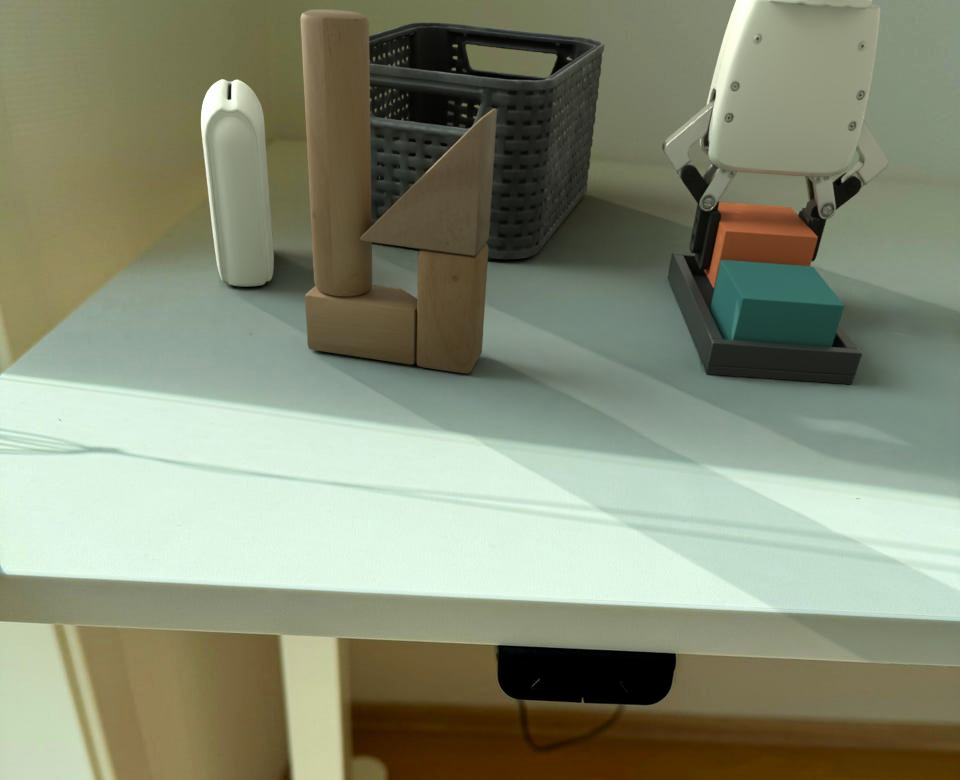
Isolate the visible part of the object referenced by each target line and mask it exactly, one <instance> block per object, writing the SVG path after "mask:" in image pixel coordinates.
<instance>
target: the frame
mask: <svg viewBox="0 0 960 780" xmlns="http://www.w3.org/2000/svg"><path fill="white" fill-rule="evenodd" d="M669 261H670V262H669V266H668V273H667V277H666V278H667V280H668V283H669V285H670V288H671V291H672V293H673V295H674V297H675V300H676V302H677V303H676V304H677V305H678V308H679V310H680V312H681V315H682V318H683V320H684V322H685V325H686V327H687V330H688V333H689V335H690V337H691V340H692V342H693V344H694V347H695V350H696V352H697V355H698V356H699V359H700V361H701V364H702V367H703V370H704V371H705V374H706V375H714V376H715V375H716V376H728V377H743V378H744V377H746V378H758V379H759V378H760V379H772V380H787V381H800V382H801V381H802V382H813V383H814V382H816V383H828V384H829V383H830V384H840V385H841V384H845V385H853V383H854V380H855V376H856V373H857V371H858V368H859V365H860V362H861V358H862V356H863V353H862V351H861V350H860V349H859V347H857V345H856V344H855V342H854V341H853V340H852V338H851V337H850V336H849V335H848V333H847V331H845V329H844V328H843V326H842V325H841V324H840V323H839V325H838V328H837V331H836V335H835V338H834V341H833V344H832V347H824V346H810V345H795V344H781V343H767V342H753V341H739V340H725V339H723V338H722V336H721V334H720V332H719V330H718V328H717V326H716V324H715V321H714V319H713V317H712V315H711V313H710V308H711V303H712V299H713V294H714V289H713V287H712V285H711V283H710V281H709V279H708V277H707V275H706V273H705V271H704V269H700V268H699V266H698V264H697V262H696V260H695V254H694V253H691V252H685V251H684V252H683V251H672V252H671V256H670V260H669Z"/></svg>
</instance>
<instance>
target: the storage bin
mask: <svg viewBox="0 0 960 780" xmlns="http://www.w3.org/2000/svg"><path fill="white" fill-rule="evenodd" d="M454 45H456V46H454ZM466 45H470V46H478V47H488V48H496V49H501V50H502V49H504V50H514V51H522V52H532V53H542V54H547V55H548V54H549V55H551V54H552V55H556V59H555V61H554V64H553V67H552V69H551V71H550V74H549V75H548V76H538V75H537V76H536V75H528V74H527V75H526V74H520V73H510V72H502V71H494V70H483V69H477V68H473V67H472V66H471V63H470V60H469V55H468V52H467V47H466ZM604 51H605V43H604V42H603V41H601V40H599V39H595V38H594V39H593V38H589V37H582V36H575V35H574V36H573V35H563V34H553V33H542V32H536V31H535V32H534V31H525V30H514V29H508V28H507V29H506V28H499V27H490V26H489V27H488V26H479V25H471V24H470V25H469V24H462V23H455V22H454V23H452V22H431V21H426V22H425V21H424V22H421V21H420V22H410V23H405V24H403V25H398V26H396V27H393V28H389V29H386V30H383V31H379V32H376V33H373V34H369V69H370V143H371V217H372V225H373V224H374V223H375V222H376V221H377V220H378V219H380V218H381V217H382V216H383V215H384V214H385V213H386V212H387V211H388V210H389V209H390V208H391V207H392V206H393V205H394V204H395V203H396V202H397V201H398V200H399V199H400V198H401V197H402V196H403V195H404V194H405V193H406V192H407V191H408V190H409V189H410V188H411V187H412V186H413V185H414V184H415V183H416V182H417V181H418V180H419V179H420V178H421V177H422V176H423V175H424V174H425V173H426V172H427V171H428V170H429V169H430V168H431V167H432V166H433V165H434V164H435V163H436V162H437V161H438V160H439V159H440V158H441V157H442V156H443V155H444V154H445V153H446V152H447V151H448V150H449V149H450V148H451V147H452V146H453V145H454V144H455V143H456V142H457V141H458V140H459V139H460V138H461V137H462V136H463V135H464V134H465V133H466V132H467V131H468V130H469V129H470V128H471V127H472V126H473V125H474V124H475V123H476V122H477V121H478V120H479V119H480V118H482V117H483V116H484V115H486V114H487V113H488V112H490V111H491V110H492V109H496V110H497V118H496V133H495V149H494V165H493V181H492V197H491V212H490V228H489V239H488V240H487V242H486V243H487V245H488V261H493V260H494V259H495V260H519V259H525V258H526V259H527V258H530V257H533V256H535V255H537V254H538V253H539V252H540V251H541V250H542V249H543V248H544V246H545V245H546V244H547V242H548V241H549V240H550V238H551V237H552V236H553V235H554V233H555V232H556V231H557V229H558V228H559V227H560V226H561V225H562V223H563V222H564V221H565V219H566V218H567V217H568V216H569V214H570V213H571V212H572V211H573V209H574V208H575V207H576V206H577V204H578V203H579V202H580V201H581V199H582V198H583V196H584V195H585V194H586V193H587V192H588V181H589V170H590V167H591V157H592V151H591V150H592V147H593V143H594V142H593V141H594V139H593V138H594V131H595V130H594V127H595V124H596V114H597V113H596V112H597V102H598V100H599V88H600V77H601V74H602V62H603V53H604ZM454 57H456V58H454ZM568 58H569V59H568ZM454 69H455V70H454ZM463 104H466V105H463ZM476 106H479V107H476ZM463 115H465V116H466V117H465V116H463ZM401 248H404V247H403V246H401ZM409 248H410V249H412V248H411V247H408V249H409ZM414 249H416V250H420V249H419V248H414Z"/></svg>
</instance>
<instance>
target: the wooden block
mask: <svg viewBox="0 0 960 780" xmlns="http://www.w3.org/2000/svg"><path fill="white" fill-rule="evenodd" d="M300 34H301V35H300V36H301V54H302V55H301V56H302V57H301V58H302V73H303V74H302V75H303V91H304V92H303V93H304V110H305V111H304V112H305V131H306V132H305V133H306V147H307V148H306V149H307V166H308V167H307V170H308V171H307V172H308V190H309V209H310V225H311V228H310V229H311V244H312V245H311V247H312V265H313V283H314V287H312V288H311V289H310V290H309V291H307V293H305V296H304V301H305V302H304V303H305V304H304V305H305V321H306V339H307V347H308V349H309V350H312V351H318V352H325V353H331V354H332V353H333V354H336V355H337V354H338V355H344V356H352V357H358V358H363V359H365V358H366V359H370V360H378V361H383V362H384V361H385V362H389V363H390V362H391V363H397V364H404V365H411V366H412V365H414V364H416V365H417V366H418V367H420V368H424V369H425V368H427V369H433V370H439V371H444V372H445V371H446V372H453V373H459V374H465V375H466V374H470V373H471V372H472V370H473V369H474V366H475V365H476V363H477V361H478V360H479V358H480V357H481V355H482V353H483V341H484V340H483V339H484V325H485V323H484V322H485V309H486V295H487V294H486V293H487V277H488V263H489V262H488V261H489V260H488V245H487V243H486V242H487V240H488V239H489V228H490V212H491V197H492V181H493V165H494V149H495V133H496V118H497V110H496V109H492V110H491V111H490V112H488V113H487V114H486V115H484V116H483V117H482V118H480V119H479V120H478V121H477V122H476V123H475V124H474V125H473V126H472V127H471V128H470V129H469V130H468V131H467V132H466V133H465V134H464V135H463V136H462V137H461V138H460V139H459V140H458V141H457V142H456V143H455V144H454V145H453V146H452V147H451V148H450V149H449V150H448V151H447V152H446V153H445V154H444V155H443V156H442V157H441V158H440V159H439V160H438V161H437V162H436V163H435V164H434V165H433V166H432V167H431V168H430V169H429V170H428V171H427V172H426V173H425V174H424V175H423V176H422V177H421V178H420V179H419V180H418V181H417V182H416V183H415V184H414V185H413V186H412V187H411V188H410V189H409V190H408V191H407V192H406V193H405V194H404V195H403V196H402V197H401V198H400V199H399V200H398V201H397V202H396V203H395V204H394V205H393V206H392V207H391V208H390V209H389V210H388V211H387V212H386V213H385V214H384V215H383V216H382V217H381V218H380V219H378V220H377V221H376V222H375V223H374V224H373V225H372V217H371V143H370V101H371V98H370V89H371V86H370V69H369V62H370V59H369V35H370V22H369V19H368V17H367V16H366V15H364V14H363V13H360V12H357V11H350V10H341V9H323V8H321V9H319V8H318V9H308V10H306V11H303V12H301V16H300ZM373 243H374V244H380V245H381V244H382V245H389V246H396V247H402V246H403V247H402V248H409V247H411V248H410V249H415V248H419V249H418V253H417V293H416V295H417V296H414V295H412V294H411V293H409V292H408V291H406V290H405V289H403V288H399V287H391V286H386V285H385V286H384V285H378V284H377V285H376V284H373Z"/></svg>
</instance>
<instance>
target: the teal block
mask: <svg viewBox="0 0 960 780" xmlns="http://www.w3.org/2000/svg"><path fill="white" fill-rule="evenodd" d="M844 309H845V304H844V303H843V302H842V301H841V300H840V297H838V295H837V294H836V293H835V292H834V290H833V289H832V288H831V287H830V286H829V284H827V282H826V281H825V280H824V278H823V277H822V276H821V275H820V274H819V272H818V271H817V270H816V269H815V268H814V266H811V265H810V266H799V265H785V264H772V263H758V262H744V261H730V260H721V262H720V266H719V271H718V276H717V280H716V285H715V289H714V294H713V299H712V303H711V308H710V313H711V315H712V317H713V319H714V321H715V324H716V326H717V328H718V330H719V332H720V334H721V336H722V338H723V339H725V340H739V341H753V342H767V343H781V344H795V345H810V346H824V347H832V344H833V341H834V338H835V335H836V331H837V328H838V325H839V324H840V322H841V318H842V316H843V315H842V314H843V311H844Z"/></svg>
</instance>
